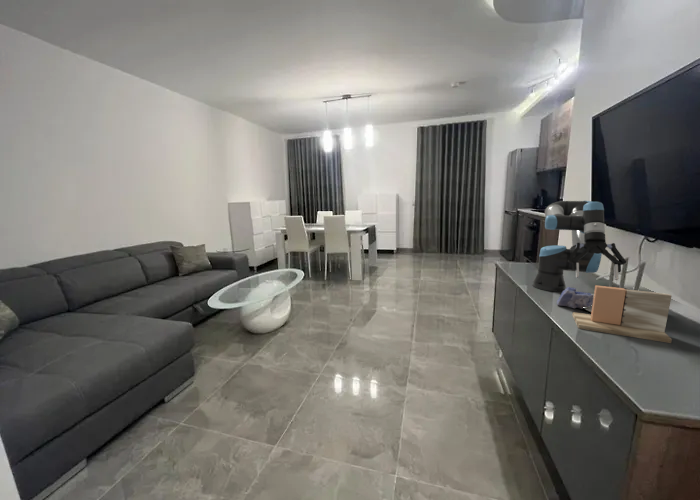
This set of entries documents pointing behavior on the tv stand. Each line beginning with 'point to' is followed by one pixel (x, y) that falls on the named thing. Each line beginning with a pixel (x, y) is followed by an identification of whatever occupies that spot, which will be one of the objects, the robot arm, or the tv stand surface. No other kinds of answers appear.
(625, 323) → the stand
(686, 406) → the tv stand surface
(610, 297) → the orange rectangular panel
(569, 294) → the mineral
